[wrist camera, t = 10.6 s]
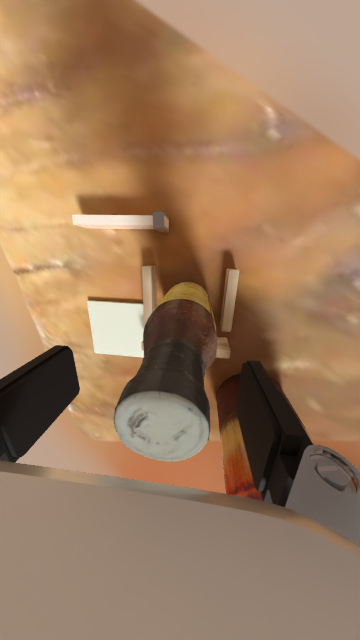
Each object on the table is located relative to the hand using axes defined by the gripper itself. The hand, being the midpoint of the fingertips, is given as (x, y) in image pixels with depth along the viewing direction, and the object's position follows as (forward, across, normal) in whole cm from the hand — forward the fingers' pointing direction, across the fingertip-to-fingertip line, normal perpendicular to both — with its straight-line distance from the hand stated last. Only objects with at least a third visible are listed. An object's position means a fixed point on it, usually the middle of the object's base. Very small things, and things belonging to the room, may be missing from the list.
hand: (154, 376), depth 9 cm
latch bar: (+17, +8, -10) cm, 21 cm away
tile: (+17, +10, +5) cm, 21 cm away
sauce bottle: (+17, -1, 0) cm, 17 cm away
